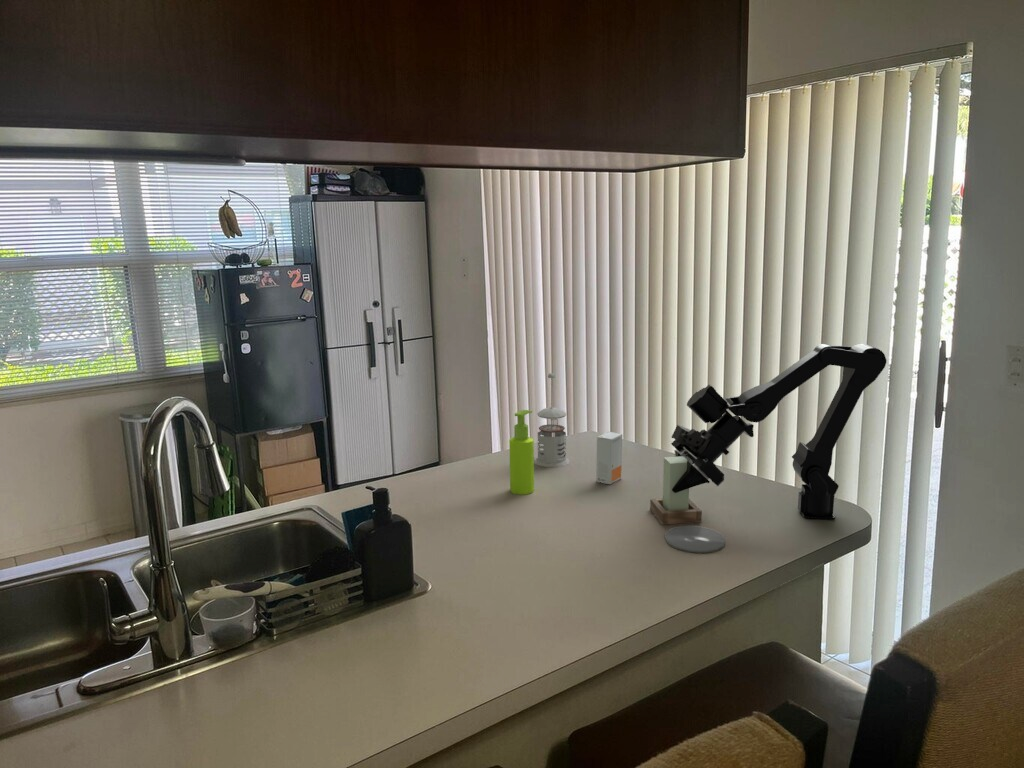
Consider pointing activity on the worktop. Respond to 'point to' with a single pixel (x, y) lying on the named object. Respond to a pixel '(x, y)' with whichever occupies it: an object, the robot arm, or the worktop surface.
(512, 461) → the soap dispenser
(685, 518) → the walnut holder
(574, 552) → the worktop surface
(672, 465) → the sage peg
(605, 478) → the skincare box
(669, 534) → the slate coaster
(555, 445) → the french press
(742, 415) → the robot arm
